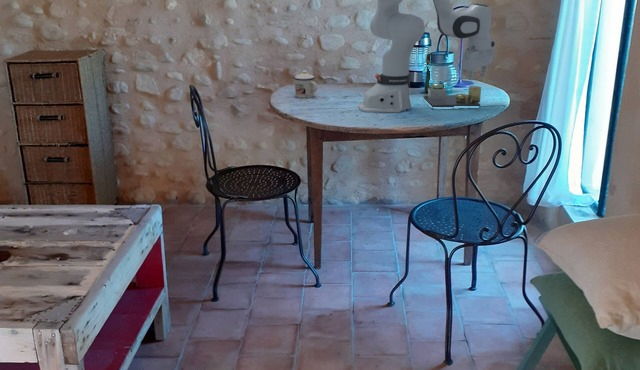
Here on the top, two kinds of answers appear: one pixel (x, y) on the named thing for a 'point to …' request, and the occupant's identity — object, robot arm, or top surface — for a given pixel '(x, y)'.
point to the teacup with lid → (305, 85)
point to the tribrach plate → (444, 98)
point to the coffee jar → (427, 73)
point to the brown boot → (471, 95)
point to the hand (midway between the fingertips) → (477, 77)
